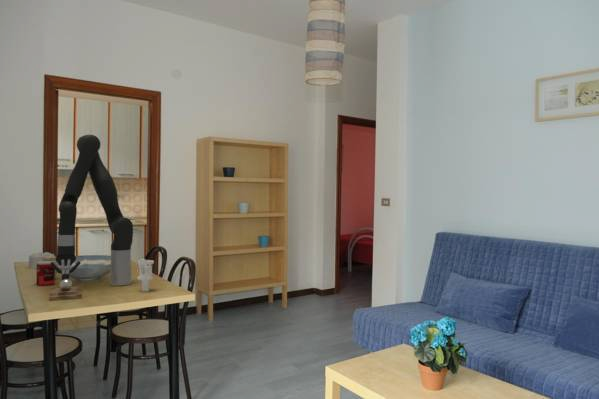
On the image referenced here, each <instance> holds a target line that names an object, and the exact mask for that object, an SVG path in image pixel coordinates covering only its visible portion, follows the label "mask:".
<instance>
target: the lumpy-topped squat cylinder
mask: <svg viewBox="0 0 599 399" xmlns="http://www.w3.org/2000/svg"><path fill="white" fill-rule="evenodd" d="M45 256H55V254H54V253H50V252H48V251H45V252H41V251H40V252H34V253H32V254H30V255H29V256H28V268H29V267H30V268H29V269H31V268H32V269H31V270H37V262H41V261H42V259H43V257H45Z"/></svg>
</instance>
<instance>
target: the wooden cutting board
mask: <svg viewBox="0 0 599 399" xmlns="http://www.w3.org/2000/svg"><path fill="white" fill-rule="evenodd" d="M77 299H82V288H81V286H79V285H78V286H72V287H71V288H70V289H68V290H63V289H61V288H60V287H51V288H50V292H49V298H48V300H49V301H50V302H53V301H63V300H64V301H65V300H77Z"/></svg>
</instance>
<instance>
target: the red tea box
mask: <svg viewBox="0 0 599 399" xmlns="http://www.w3.org/2000/svg"><path fill="white" fill-rule="evenodd" d="M56 257H57V255H56V256H45V257H43V259H42V261H54V260H56ZM56 263H57V262H56ZM56 266H57V267H58V263H57V265H56ZM57 274H58V272H57V271H56V270H55V280H56V279H57V278H56V277H57Z"/></svg>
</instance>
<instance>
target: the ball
mask: <svg viewBox="0 0 599 399" xmlns="http://www.w3.org/2000/svg"><path fill="white" fill-rule="evenodd" d="M71 287H73V282H72V280H71V279H63V280H62V279H61V281H60V282H59V288H61V289H63V290H68V289H70V288H71Z"/></svg>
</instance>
